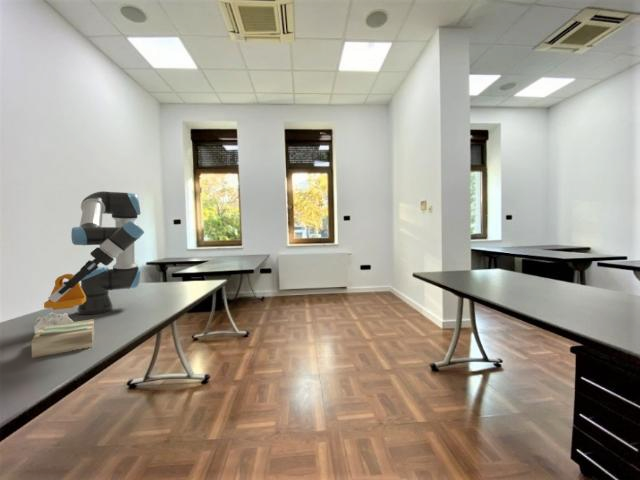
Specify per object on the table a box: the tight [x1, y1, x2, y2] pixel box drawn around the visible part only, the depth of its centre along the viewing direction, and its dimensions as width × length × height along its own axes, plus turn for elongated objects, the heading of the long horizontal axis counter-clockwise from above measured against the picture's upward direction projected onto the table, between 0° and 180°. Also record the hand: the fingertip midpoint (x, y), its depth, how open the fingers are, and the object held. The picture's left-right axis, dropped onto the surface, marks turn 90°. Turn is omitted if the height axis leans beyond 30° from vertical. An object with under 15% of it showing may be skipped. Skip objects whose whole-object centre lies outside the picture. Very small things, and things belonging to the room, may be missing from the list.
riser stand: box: [30, 318, 95, 359], centre depth 109 cm, size 18×16×6 cm
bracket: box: [43, 273, 86, 311], centre depth 108 cm, size 11×7×12 cm, turn 119°
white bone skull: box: [33, 311, 74, 336], centre depth 122 cm, size 12×9×10 cm
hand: (53, 298), depth 107 cm, fingers closed on bracket, 7 cm apart
